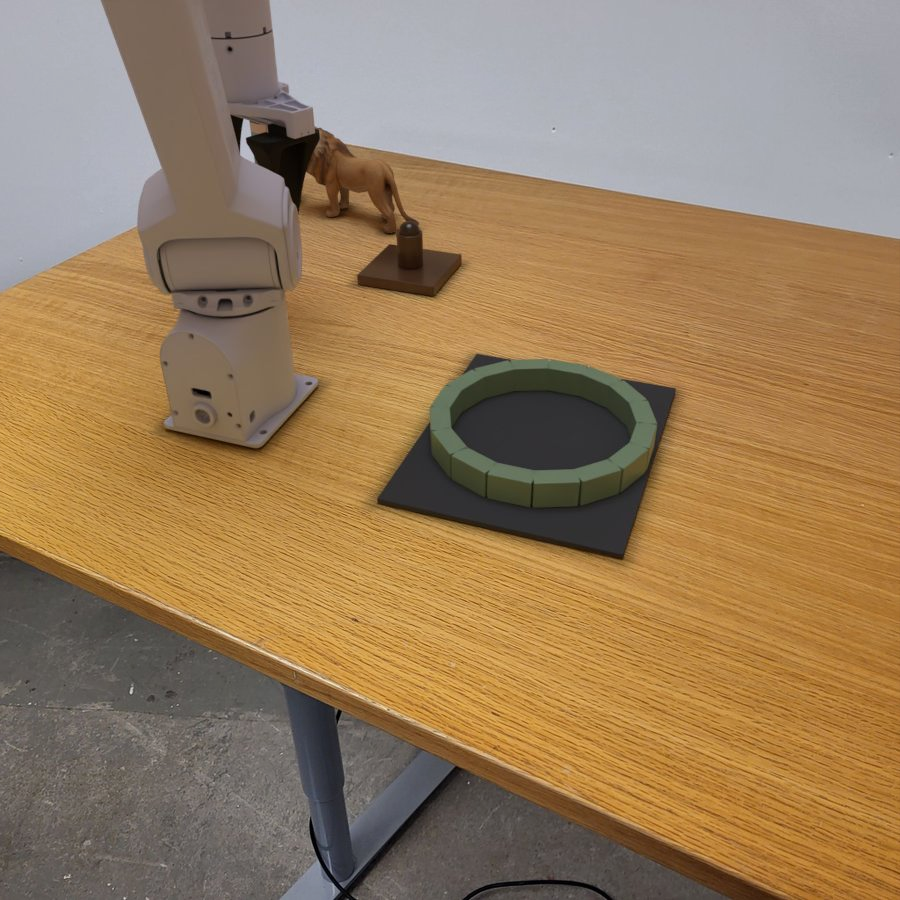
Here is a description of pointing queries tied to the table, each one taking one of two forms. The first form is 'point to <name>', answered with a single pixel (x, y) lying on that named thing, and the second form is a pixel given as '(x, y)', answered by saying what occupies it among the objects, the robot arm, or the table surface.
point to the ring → (542, 484)
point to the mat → (532, 465)
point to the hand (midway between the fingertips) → (257, 207)
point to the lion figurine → (354, 178)
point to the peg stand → (410, 265)
